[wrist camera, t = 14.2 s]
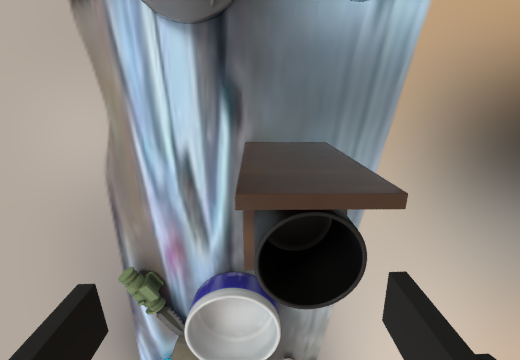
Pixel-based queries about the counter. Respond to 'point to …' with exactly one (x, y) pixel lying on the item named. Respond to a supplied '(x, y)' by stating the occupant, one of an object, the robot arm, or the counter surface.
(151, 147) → the counter surface
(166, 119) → the counter surface
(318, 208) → the shelf
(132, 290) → the knife
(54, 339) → the robot arm
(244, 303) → the dog bowl
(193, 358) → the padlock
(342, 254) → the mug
